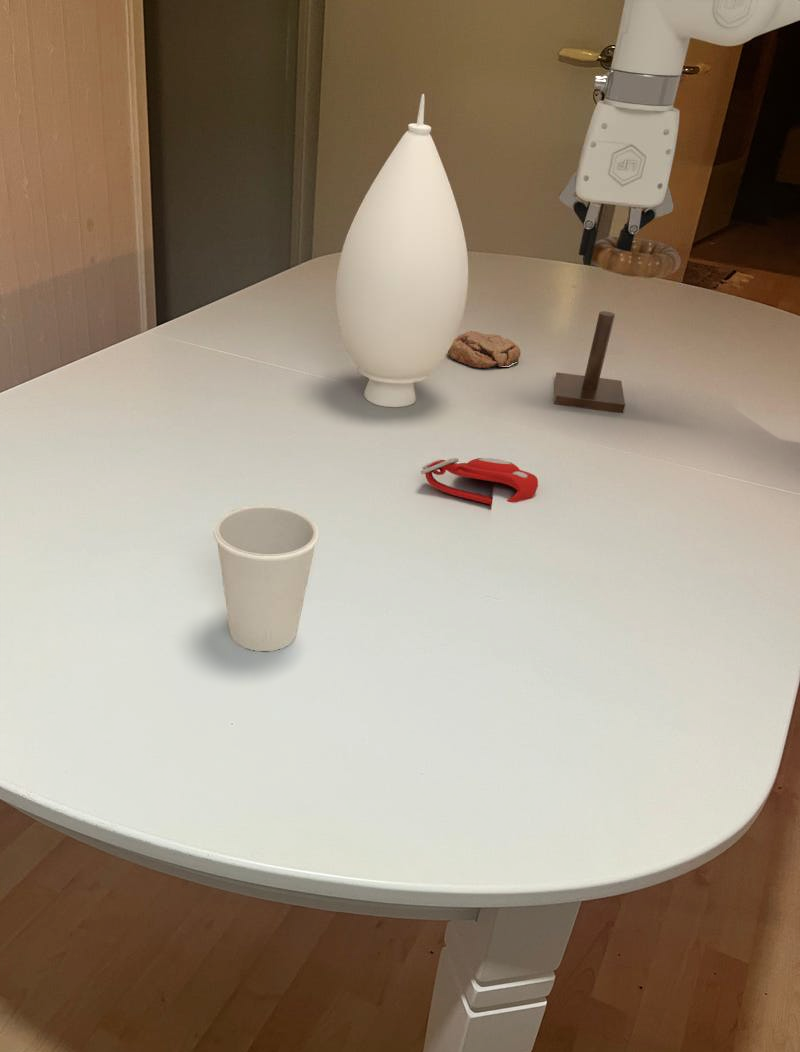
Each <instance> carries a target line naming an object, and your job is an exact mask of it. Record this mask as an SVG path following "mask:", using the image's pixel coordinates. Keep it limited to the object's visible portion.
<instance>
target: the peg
mask: <svg viewBox="0 0 800 1052" xmlns="http://www.w3.org/2000/svg"><path fill="white" fill-rule="evenodd" d="M615 317H616V314H615V313H613V312H612V311H606V310H605V311H604V310H603V311H599V313H598V317H597V321H596V325H595V330H594V334H593V339H592V343H591V346H590V347H591V348H590V352H589V355H588V360H587V364H586V368H585V373H584V375H582V374H580V375H579V374H573V373H565V372H556V373H555V376H554V404H555V405H560V406H561V405H562V406H568V407H575V408H584V409H592V410H598V411H606V412H614V413H621V414H622V413H623V414H624V411H625V407H626V401H625V396H624V395H625V394H624V389H623V383H622V380H620V379H613V378H612V379H611V378H603V377H601V374H602V371H603V366H604V362H605V358H606V354H607V350H608V347H609V342H610V338H611V333H612V329H613V325H614V321H615Z"/></svg>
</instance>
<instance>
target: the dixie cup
mask: <svg viewBox="0 0 800 1052" xmlns="http://www.w3.org/2000/svg"><path fill="white" fill-rule="evenodd" d="M212 531H213V537H214V540H215V542H216V544H217V551H218V557H219V564H220V570H221V577H222V586H223V591H224V601H225V606H226V613H227V619H228V627H229V635H230V637H231V639H232V641H233V642H235V644H237V645H238V646H240V647H241V648H244V649H246V648H247V649H246V650H249V649H250V651H253V650H255V651H254V652H260V651H269V652H275V650H276V651H279V650H278V649H280V650H282V649H285V648H287V647H288V646H290V645H291V644H292V643H294V642H295V640H296V637H297V634H298V629H299V625H300V624H299V623H300V620H301V614H302V610H303V606H304V600H305V596H306V591H307V585H308V582H309V576H310V571H311V567H312V563H313V562H312V561H313V556H314V552H315V546H316V545H317V544H318V542H319V538H320V530H319V527H318V526H317V525H316V523H315V522H314V521H313V520H312V519H311V518H310V517H308V516H307V515H306V514H304V513H302V512H301V511H297V510H296V509H295V510H294V509H292V508H289V507H284V506H279V505H270V504H268V505H267V504H262V505H261V504H260V505H259V504H258V505H247V506H242V507H239V508H236V509H233V510H231V511H229V512H227V513H225V514H224V515H222V516H221V517H219V519H218V520H217V521H216V523H215V524H214V526H213V530H212ZM286 646H287V647H286Z"/></svg>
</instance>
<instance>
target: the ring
mask: <svg viewBox="0 0 800 1052" xmlns="http://www.w3.org/2000/svg"><path fill="white" fill-rule="evenodd" d="M618 240H619V236H607V237H605V238H601V239H598V240H595V244H594V248H593V253H592V257H591V262H592V263H593V264H594V265H595V266H596V267H598V268H600V269H603V270H605V271H607V272H609V273H612V274H613V273H614V274H618V275H622V276H627V277H633V278H634V277H635V278H641V279H653V278H655V279H657V278H665V277H667V276H669V275H672V274H675V272H677V271H678V270H679V268H680V266H681V261H682V260H681V256H680V255H679V252H678V251H677V249H676V248H675V247H672V246H670V245H668V244H666V243H664V242H661V241H660V242H659V241H656V240H652V239H647V238H643V237H642V238H641V237H634V238H633V242H632V247H631V251H630V252H629V251H625V250H621V249H617V244H618Z"/></svg>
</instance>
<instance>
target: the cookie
mask: <svg viewBox="0 0 800 1052" xmlns="http://www.w3.org/2000/svg"><path fill="white" fill-rule="evenodd" d="M447 354H448V356H449V355H450V356H451V359H452V358H453V359H455V360H454V361H456V360H457V361H460V362H462V363H461V364H463V363H464V364H463V365H466V364H468V365H467V366H469V365H470V367H471V366H473V367H472V368H479V369H481V368H483V369H487V368H486V367H489V368H492V367H493V368H495V367H498V366H499V367H502V366H509V365H511V364H512V363H515V362H518V363H519V359H520V357H521V349H520V347H519V346H518V344H516V343H515V342H513V341H512V340H511V339H509V338H504V337H503V336H501V335H500V334H493V333H484V332H480V331H473V330H469V331H466V332H463V333H461V334H459V335H457V336H456V337H455V339H454V341H453V343H452V345H451V347H450V349H449V350H448V352H447ZM450 356H449V357H450ZM453 359H452V360H453ZM457 361H456V362H457ZM460 362H459V363H460ZM494 366H495V367H494ZM499 367H498V368H499Z"/></svg>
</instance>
